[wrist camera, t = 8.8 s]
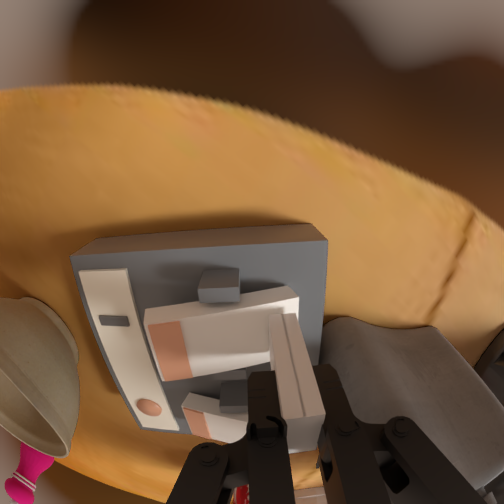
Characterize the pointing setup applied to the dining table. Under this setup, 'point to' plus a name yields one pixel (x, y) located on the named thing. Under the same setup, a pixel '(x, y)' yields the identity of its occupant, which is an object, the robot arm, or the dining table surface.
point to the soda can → (241, 495)
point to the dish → (310, 496)
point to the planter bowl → (38, 376)
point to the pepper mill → (27, 474)
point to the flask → (420, 391)
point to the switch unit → (191, 290)
